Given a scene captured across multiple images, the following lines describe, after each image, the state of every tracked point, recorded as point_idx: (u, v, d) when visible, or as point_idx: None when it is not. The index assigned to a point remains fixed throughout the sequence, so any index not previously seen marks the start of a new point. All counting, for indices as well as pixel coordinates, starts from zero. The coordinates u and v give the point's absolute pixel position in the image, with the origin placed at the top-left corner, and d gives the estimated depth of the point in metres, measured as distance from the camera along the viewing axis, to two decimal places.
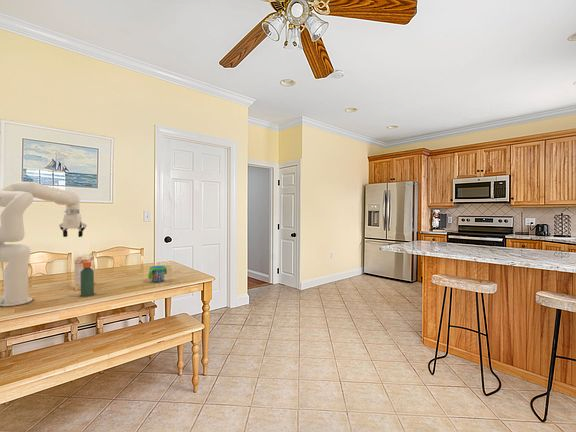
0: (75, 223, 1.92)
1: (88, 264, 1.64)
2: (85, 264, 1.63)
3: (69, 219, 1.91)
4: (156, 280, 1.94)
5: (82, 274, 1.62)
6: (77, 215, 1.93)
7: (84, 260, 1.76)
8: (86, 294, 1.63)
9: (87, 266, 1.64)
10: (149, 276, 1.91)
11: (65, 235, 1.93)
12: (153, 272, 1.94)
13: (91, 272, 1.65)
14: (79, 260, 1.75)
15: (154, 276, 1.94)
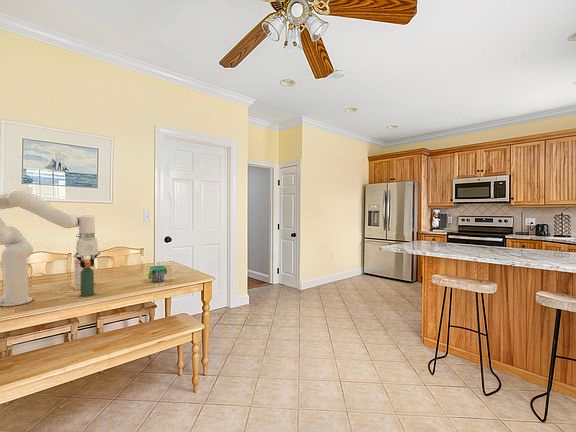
0: (95, 248, 1.66)
1: (88, 264, 1.64)
2: (85, 264, 1.63)
3: (88, 244, 1.63)
4: (156, 280, 1.94)
5: (82, 274, 1.62)
6: (96, 239, 1.67)
7: (84, 260, 1.76)
8: (86, 294, 1.63)
9: (87, 266, 1.64)
10: (149, 276, 1.91)
11: None
12: (153, 272, 1.94)
13: (91, 272, 1.65)
14: None
15: (154, 276, 1.94)
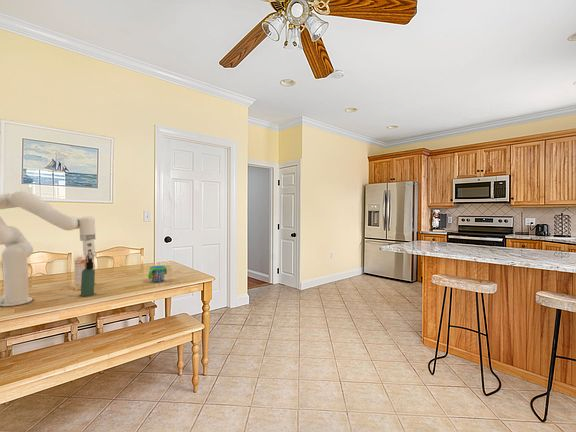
0: None
1: None
2: None
3: None
4: (156, 280, 1.94)
5: (83, 274, 1.62)
6: None
7: (84, 260, 1.76)
8: (86, 294, 1.63)
9: None
10: (149, 276, 1.91)
11: None
12: (153, 272, 1.94)
13: (92, 272, 1.65)
14: (79, 260, 1.75)
15: (154, 276, 1.94)
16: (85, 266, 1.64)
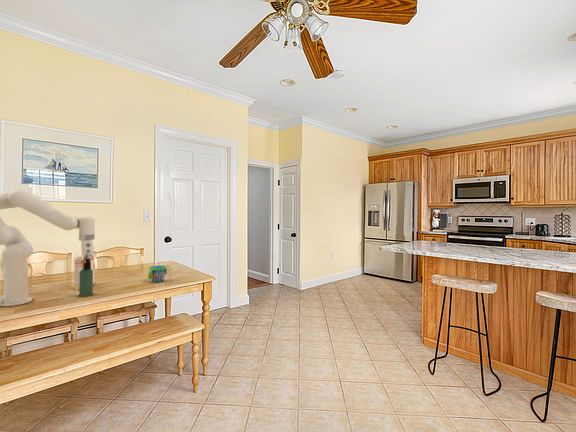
0: None
1: None
2: None
3: None
4: (156, 280, 1.94)
5: (81, 274, 1.62)
6: None
7: None
8: (85, 294, 1.62)
9: None
10: (149, 276, 1.91)
11: None
12: (153, 272, 1.94)
13: (90, 272, 1.64)
14: (79, 260, 1.75)
15: (154, 276, 1.94)
16: (83, 266, 1.63)
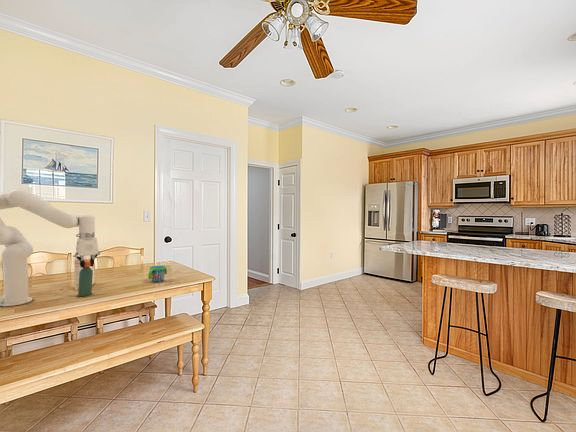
0: (95, 248, 1.66)
1: None
2: None
3: (88, 244, 1.63)
4: (156, 280, 1.94)
5: (81, 273, 1.62)
6: (96, 239, 1.67)
7: (84, 260, 1.76)
8: (84, 294, 1.62)
9: None
10: (149, 276, 1.91)
11: None
12: (153, 272, 1.94)
13: (90, 272, 1.65)
14: (79, 260, 1.75)
15: (154, 276, 1.94)
16: (88, 266, 1.65)
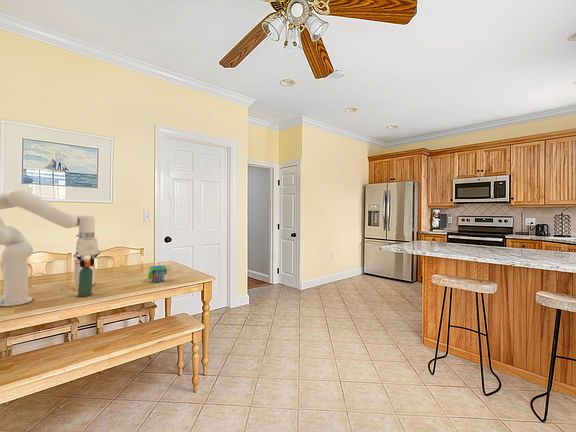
0: (95, 248, 1.66)
1: None
2: None
3: (88, 244, 1.63)
4: (156, 280, 1.94)
5: (81, 273, 1.62)
6: (96, 239, 1.67)
7: (84, 260, 1.76)
8: (84, 294, 1.62)
9: None
10: (149, 276, 1.91)
11: None
12: (153, 272, 1.94)
13: (90, 272, 1.65)
14: (79, 260, 1.75)
15: (154, 276, 1.94)
16: (90, 265, 1.67)
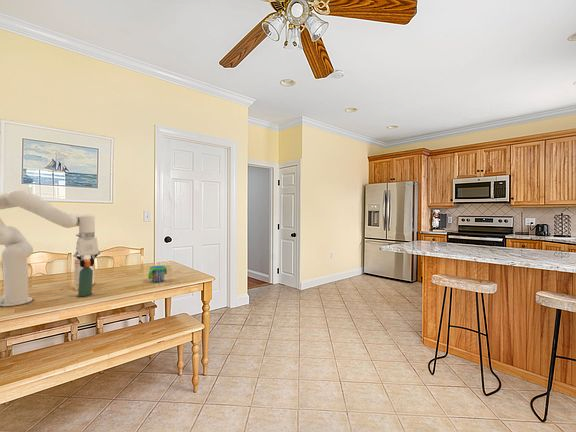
0: (95, 248, 1.66)
1: (85, 263, 1.63)
2: None
3: (88, 244, 1.63)
4: (156, 280, 1.94)
5: (81, 273, 1.62)
6: (96, 238, 1.67)
7: (84, 260, 1.76)
8: (84, 294, 1.62)
9: (84, 265, 1.63)
10: (149, 276, 1.91)
11: None
12: (153, 272, 1.94)
13: (90, 272, 1.65)
14: (79, 260, 1.75)
15: (154, 276, 1.94)
16: None
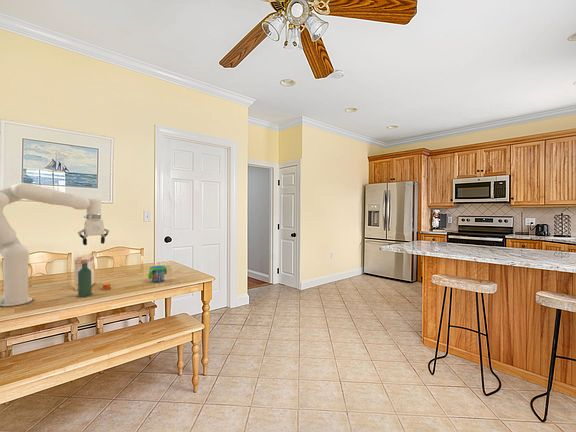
0: (101, 229, 1.79)
1: (109, 286, 1.78)
2: (107, 286, 1.77)
3: (95, 225, 1.76)
4: (156, 280, 1.94)
5: (80, 274, 1.61)
6: (102, 220, 1.80)
7: (84, 260, 1.76)
8: (84, 294, 1.62)
9: (108, 288, 1.77)
10: (149, 276, 1.91)
11: None
12: (153, 272, 1.94)
13: (89, 272, 1.64)
14: (79, 260, 1.75)
15: (154, 276, 1.94)
16: None
